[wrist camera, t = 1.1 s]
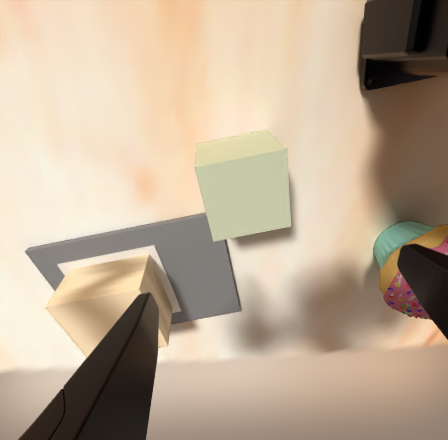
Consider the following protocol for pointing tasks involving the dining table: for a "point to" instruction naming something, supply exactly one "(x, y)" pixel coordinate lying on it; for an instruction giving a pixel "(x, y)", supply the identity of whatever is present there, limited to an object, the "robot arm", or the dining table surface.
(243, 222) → the green cube
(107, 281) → the maple block
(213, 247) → the grey flat plate
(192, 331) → the dining table surface
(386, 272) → the cupcake
